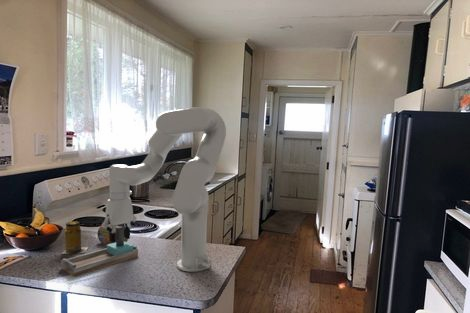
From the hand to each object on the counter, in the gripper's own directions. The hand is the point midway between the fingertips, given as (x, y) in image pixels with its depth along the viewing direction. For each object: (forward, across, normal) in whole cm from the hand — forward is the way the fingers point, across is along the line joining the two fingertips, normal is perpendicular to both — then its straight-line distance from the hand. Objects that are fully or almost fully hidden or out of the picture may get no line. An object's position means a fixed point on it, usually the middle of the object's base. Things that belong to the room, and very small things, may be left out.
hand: (119, 239), depth 142 cm
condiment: (+7, +9, -19) cm, 22 cm away
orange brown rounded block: (+7, -6, -15) cm, 18 cm away
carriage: (+5, 0, 0) cm, 5 cm away
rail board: (+7, +8, 0) cm, 11 cm away
